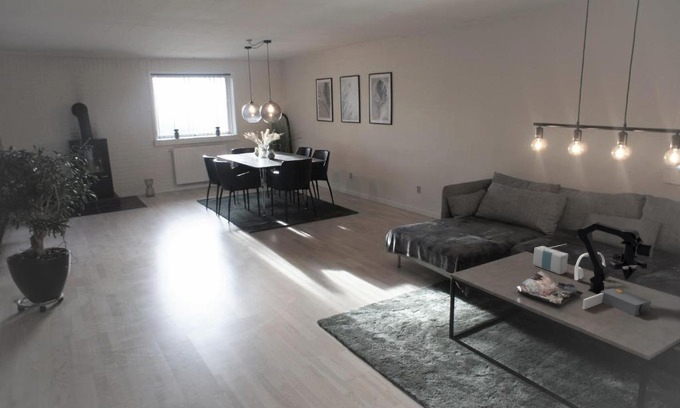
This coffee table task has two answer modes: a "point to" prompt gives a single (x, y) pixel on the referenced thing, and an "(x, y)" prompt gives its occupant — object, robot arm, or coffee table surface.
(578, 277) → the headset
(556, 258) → the stereo radio cassette player
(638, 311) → the grey slab
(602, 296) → the side door
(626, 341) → the coffee table surface
